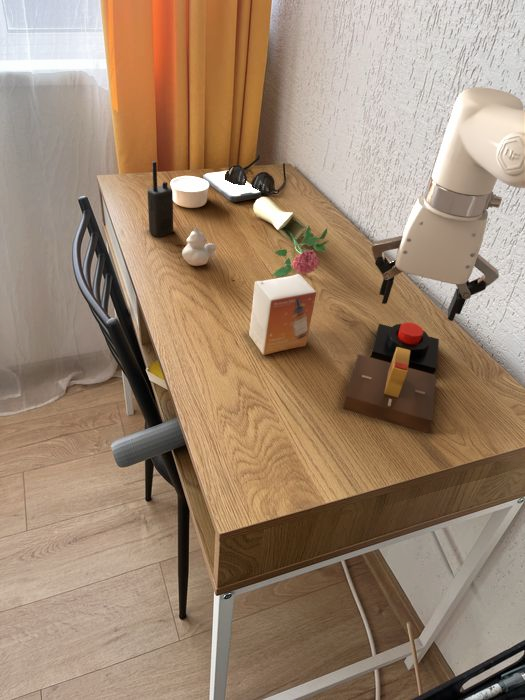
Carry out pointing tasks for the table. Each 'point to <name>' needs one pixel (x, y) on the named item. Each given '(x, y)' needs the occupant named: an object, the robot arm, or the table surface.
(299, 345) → the small box
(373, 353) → the button box
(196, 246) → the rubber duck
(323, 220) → the table surface
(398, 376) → the yellow block
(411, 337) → the button
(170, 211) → the walkie-talkie
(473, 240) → the robot arm
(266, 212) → the toppled flower pot
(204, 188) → the ramekin
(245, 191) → the phone case
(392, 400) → the plate
